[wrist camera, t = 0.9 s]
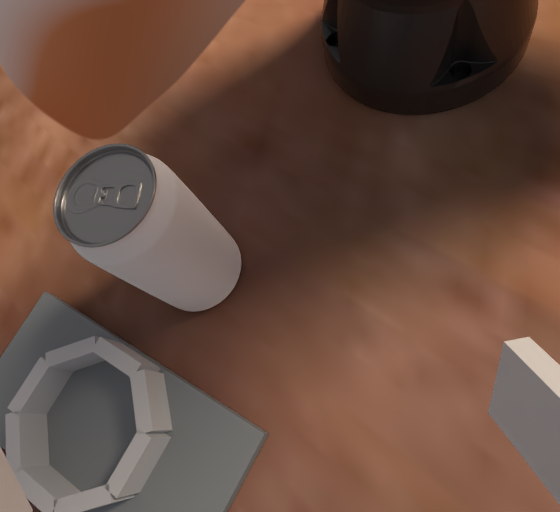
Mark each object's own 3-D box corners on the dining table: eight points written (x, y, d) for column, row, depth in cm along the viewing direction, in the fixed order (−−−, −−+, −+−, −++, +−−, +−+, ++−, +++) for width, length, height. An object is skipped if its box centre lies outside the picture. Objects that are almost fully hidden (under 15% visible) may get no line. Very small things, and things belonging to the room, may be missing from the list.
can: (169, 227, 35) (64, 138, 24) (249, 228, 34) (175, 133, 23) (152, 310, 33) (29, 253, 22) (236, 316, 32) (148, 257, 21)
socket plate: (53, 294, 36) (19, 281, 33) (268, 433, 28) (251, 434, 25) (-25, 413, 34) (-69, 412, 31) (183, 595, 27) (153, 618, 23)
